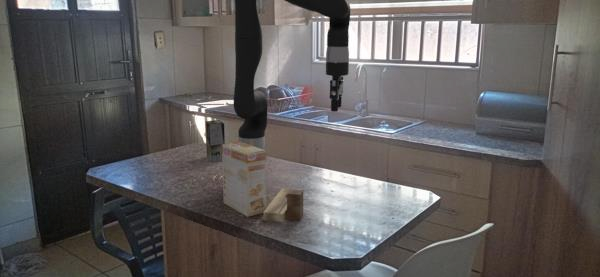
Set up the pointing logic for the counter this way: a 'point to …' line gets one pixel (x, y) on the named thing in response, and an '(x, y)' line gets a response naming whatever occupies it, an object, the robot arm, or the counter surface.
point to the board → (277, 207)
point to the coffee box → (214, 139)
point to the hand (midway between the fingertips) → (336, 109)
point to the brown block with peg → (294, 205)
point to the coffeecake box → (244, 178)
